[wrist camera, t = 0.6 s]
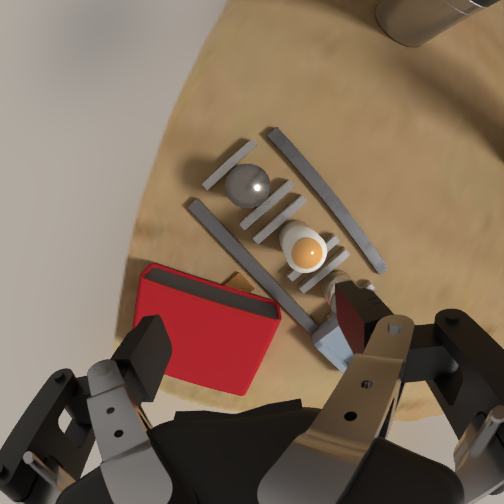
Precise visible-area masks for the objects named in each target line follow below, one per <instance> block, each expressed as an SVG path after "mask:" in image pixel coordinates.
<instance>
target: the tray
mask: <svg viewBox="0 0 504 504" xmlns="http://www.w3.org/2000/svg"><path fill="white" fill-rule="evenodd" d="M371 291H373V290H372V289H371ZM373 292H374V291H373ZM374 293H375V292H374ZM378 298H379V297H378ZM310 337H311V340H312V343H313V345H314V346H315V347H316V348H317V349H318V350H319V351H320V352H321V353H322V354H323V355H324V356H325V357H326V358H327V359H328V360H329V361H330V362H331V363H332V364H333V365H335V366H336V367H337V368H338V369H339V370H340V371H341V372H342V373H343V374H344V372H345V371H346V369H347V367H348V365H349V364H350V362H351V360H352V358H353V356H354V354H353V352H352V350H351V349H350V347H349V345H348V343H347V341H346V339H345V337H344V335H343V333H342V331H341V329H340V327H339V324H338V320H337V318H336V319H335V320H334V321H332V322H331V323H330V322H329V321H328V320H326V321H325V322H324V323H323V324H321V325H320V326H319V327H318V328H316V329H315V330H314V331H312V332H311V333H310Z"/></svg>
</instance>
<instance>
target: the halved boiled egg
mask: <svg viewBox="0 0 504 504" xmlns="http://www.w3.org/2000/svg"><path fill="white" fill-rule="evenodd" d="M279 243H280V245H281V248H282V250H283V252H284V255H285V257H286V260H287V262H288V264H289V265H290V267H291V268H293V269H294V270H296V271H298V272H301V273H309V272H313V271H315V270H317V269H318V268H320V267H321V266H322V264H323V263H324V261H325V259H326V256H327V247H326V244H325V242H324V240H323V239H322V238H321V237H320V236H319V235H318V234H317V233H316V232H315V231H314V230H313V229H312V228H310V227H309V226H308V225H307V224H306V223H304V222H302V221H291V222H288V223H287V224H285V225H284V226H283V227H282V229H281V231H280V233H279Z"/></svg>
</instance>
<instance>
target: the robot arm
mask: <svg viewBox="0 0 504 504" xmlns="http://www.w3.org/2000/svg"><path fill="white" fill-rule="evenodd" d="M498 1H500V0H382V1H381V2H380V3H379V4H378V5H377V7H376V9H375V15H376V19H377V21H378V23H379V24H380V26H381V28H382V29H383V30H384V31H385V32H386V33H387V34H388V35H389V36H390V37H391V38H393V39H394V40H396V41H397V42H399V43H401V44H403V45H405V46H409V47H418V46H421V45H422V44H424V43H426V42H427V41H429V40H430V39H432V38H434V37H435V36H437V35H439V34H440V33H442V32H444V31H445V30H447V29H449V28H450V27H452V26H454V25H456V24H457V23H459V22H461V21H463V20H464V19H466V18H468V17H470V16H472V15H474V14H475V13H477V12H479V11H481V10H483V9H485V8H487V7H488V6H490V5H492V4H494V3H496V2H498ZM335 300H336V313H337V320H338V324H339V327H340V329H341V331H342V333H343V335H344V337H345V339H346V341H347V343H348V345H349V347H350V349H351V350H352V352H353V354H354V356H353V358H352V360H351V362H350V364H349V365H348V367H347V369H346V371H345V372H344V374H343V376H342V378H341V379H340V381H339V383H338V384H337V386H336V388H335V389H334V391H333V392H332V394H331V396H330V397H329V399H328V400H327V402H326V404H325V405H324V407H323V408H322V409H319V408H310V407H302V403H301V399H295V400H290V401H284V402H278V403H272V404H267V405H264V406H261V407H258V408H255V409H251V410H248V411H245V412H241V413H238V414H228V413H219V412H211V411H178V412H177V411H176V413H175V417H174V420H172V421H168V422H165V423H162V424H159V425H157V426H155V427H153V426H152V424H151V423H150V421H149V419H148V417H147V416H146V413H145V412H144V410H143V408H142V407H141V403H142V402H153V401H154V398H155V395H156V393H157V391H158V388H159V385H160V383H161V380H162V378H163V375H164V373H165V370H166V368H167V365H168V363H169V360H170V358H171V356H172V344H171V341H170V338H169V336H168V333H167V331H166V328H165V326H164V323H163V320H162V318H161V316H160V315H158V314H157V315H150V316H144V317H142V319H141V320H140V322H139V323H138V325H137V326H136V327H135V328H134V329H133V330H131V331H130V332H129V333H128V334H127V335H126V337H125V338H124V341H122V343H121V344H120V346H119V347H118V348H117V350H116V351H115V353H114V354H113V356H112V357H111V359H107V360H102V361H99V362H97V363H95V364H94V365H93V366H91V368H90V369H89V370H88V372H87V376H83V377H78V378H76V377H75V375H74V374H73V372H72V370H71V369H67V368H66V369H61V370H58V371H56V372H55V373H53V374H52V375H51V376H50V377H49V379H48V380H47V381H46V383H45V384H44V385H43V387H42V388H41V389H40V391H39V392H38V394H37V395H36V396H35V398H34V399H33V401H32V402H31V403H30V405H29V406H28V408H27V409H26V411H25V412H24V414H23V415H22V417H21V418H20V420H19V421H18V423H17V424H16V426H15V427H14V429H13V430H12V432H11V433H10V435H9V437H8V438H7V440H6V441H5V443H4V445H3V446H2V448H1V450H0V490H1V491H2V492H3V493H4V494H6V495H7V496H8V497H9V498H10V499H11V500H12V501H13V502H14V503H16V504H474V503H476V502H477V501H479V500H480V499H482V498H484V497H485V496H487V495H488V494H489V495H497V494H500V493H502V492H503V491H504V349H503V348H502V347H501V346H500V345H499V344H498V343H497V342H496V341H495V340H494V339H493V338H492V337H491V336H490V335H489V334H488V333H487V332H485V331H484V330H483V329H482V328H481V327H480V326H479V325H478V324H477V323H476V322H475V321H474V320H473V319H472V318H471V317H469V316H468V315H467V314H466V313H465V312H463V311H461V310H458V309H445V310H442V311H440V312H438V313H437V314H436V316H435V321H434V324H426V325H414V322H413V320H412V319H410V318H409V317H407V316H404V315H394V314H393V313H392V311H391V310H390V309H389V308H388V307H387V306H386V305H385V304H384V303H382V301H381V299H380V298H378V296H377V295H376V294H375V293H374V292H373V291H371V290H369V289H366V288H361V289H359V288H358V287H357V286H356V285H355V283H354V282H353V281H352V280H348V281H343V282H339V283H335ZM424 380H425V381H426V382H427V384H428V386H429V387H430V389H431V391H432V393H433V394H434V396H435V398H436V399H437V401H438V403H439V405H440V406H441V408H442V410H443V412H444V414H445V415H446V417H447V419H448V421H449V423H450V424H451V426H452V428H453V430H454V432H455V434H456V436H457V438H458V440H459V442H458V444H457V445H456V447H455V450H454V455H453V456H454V462H455V472H454V471H453V470H451V469H450V468H449V467H447V466H445V465H443V464H441V463H438V462H436V461H433V460H431V459H428V458H426V457H424V456H421V455H419V454H417V453H414V452H412V451H410V450H407V449H405V448H403V447H401V446H399V445H396V444H394V443H392V442H390V441H388V440H387V437H388V434H389V431H390V428H391V425H392V422H393V419H394V417H395V414H396V411H397V408H398V405H399V403H400V400H401V397H402V394H403V390H404V387H405V384H406V383H407V382H416V381H424ZM64 408H65V409H66V411H67V412H68V413H69V415H70V416H71V417H72V420H71V422H70V424H69V426H68V428H67V430H66V432H65V433H63V432H62V430H61V429H60V428H59V425H58V419H59V416H60V415H61V413H62V411H63V410H64ZM95 439H96V441H97V444H98V448H99V451H100V454H101V457H102V463H101V464H100V466H98V467H97V468H95V469H94V470H93V471H91V472H89V473H88V474H86V475H85V476H83V477H82V478H80V477H81V474H82V471H83V469H84V466H85V463H86V461H87V459H88V456H89V454H90V451H91V449H92V446H93V444H94V442H95Z"/></svg>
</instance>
